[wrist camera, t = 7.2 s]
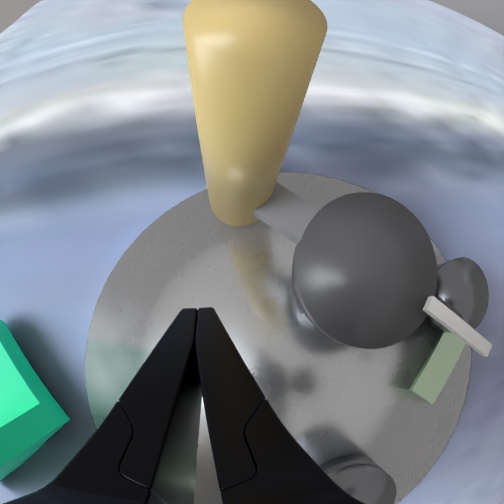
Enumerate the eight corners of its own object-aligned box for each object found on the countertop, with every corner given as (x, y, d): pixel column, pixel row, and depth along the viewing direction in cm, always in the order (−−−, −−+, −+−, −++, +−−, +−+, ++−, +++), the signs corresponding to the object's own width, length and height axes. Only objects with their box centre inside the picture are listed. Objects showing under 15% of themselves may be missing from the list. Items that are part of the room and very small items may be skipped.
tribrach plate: (500, 316, 17) (531, 314, 14) (320, 569, 13) (331, 595, 10) (251, 117, 19) (255, 84, 16) (35, 400, 14) (6, 410, 11)
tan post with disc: (477, 297, 16) (626, 266, 5) (428, 402, 14) (586, 448, 4) (253, 135, 17) (278, -46, 6) (173, 237, 15) (79, 90, 5)
